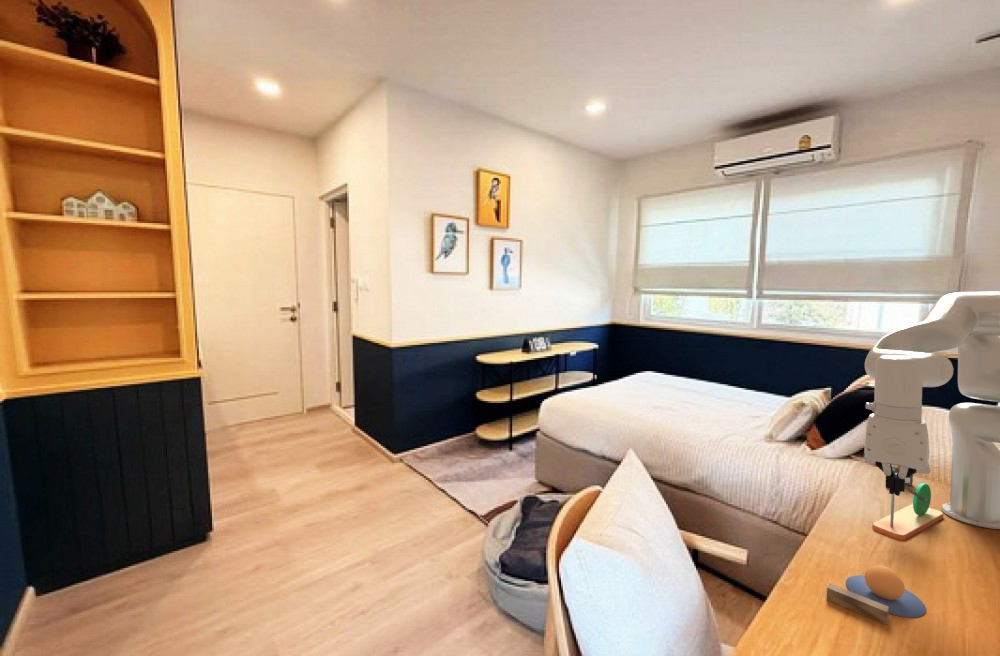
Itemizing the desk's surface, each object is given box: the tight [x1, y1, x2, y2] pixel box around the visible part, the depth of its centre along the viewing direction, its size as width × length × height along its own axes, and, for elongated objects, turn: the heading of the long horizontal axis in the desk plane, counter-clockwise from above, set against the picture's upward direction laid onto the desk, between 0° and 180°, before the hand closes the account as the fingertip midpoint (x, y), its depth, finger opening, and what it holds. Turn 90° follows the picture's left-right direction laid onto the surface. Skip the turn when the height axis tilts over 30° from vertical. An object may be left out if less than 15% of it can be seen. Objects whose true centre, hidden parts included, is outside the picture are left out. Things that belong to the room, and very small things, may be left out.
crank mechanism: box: [871, 465, 944, 541], centre depth 112 cm, size 25×7×19 cm, turn 116°
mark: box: [845, 574, 927, 618], centre depth 85 cm, size 12×12×1 cm
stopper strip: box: [826, 583, 890, 626], centre depth 82 cm, size 9×2×2 cm, turn 40°
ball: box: [864, 565, 906, 600], centre depth 85 cm, size 6×6×6 cm
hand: (894, 492), depth 92 cm, fingers closed
